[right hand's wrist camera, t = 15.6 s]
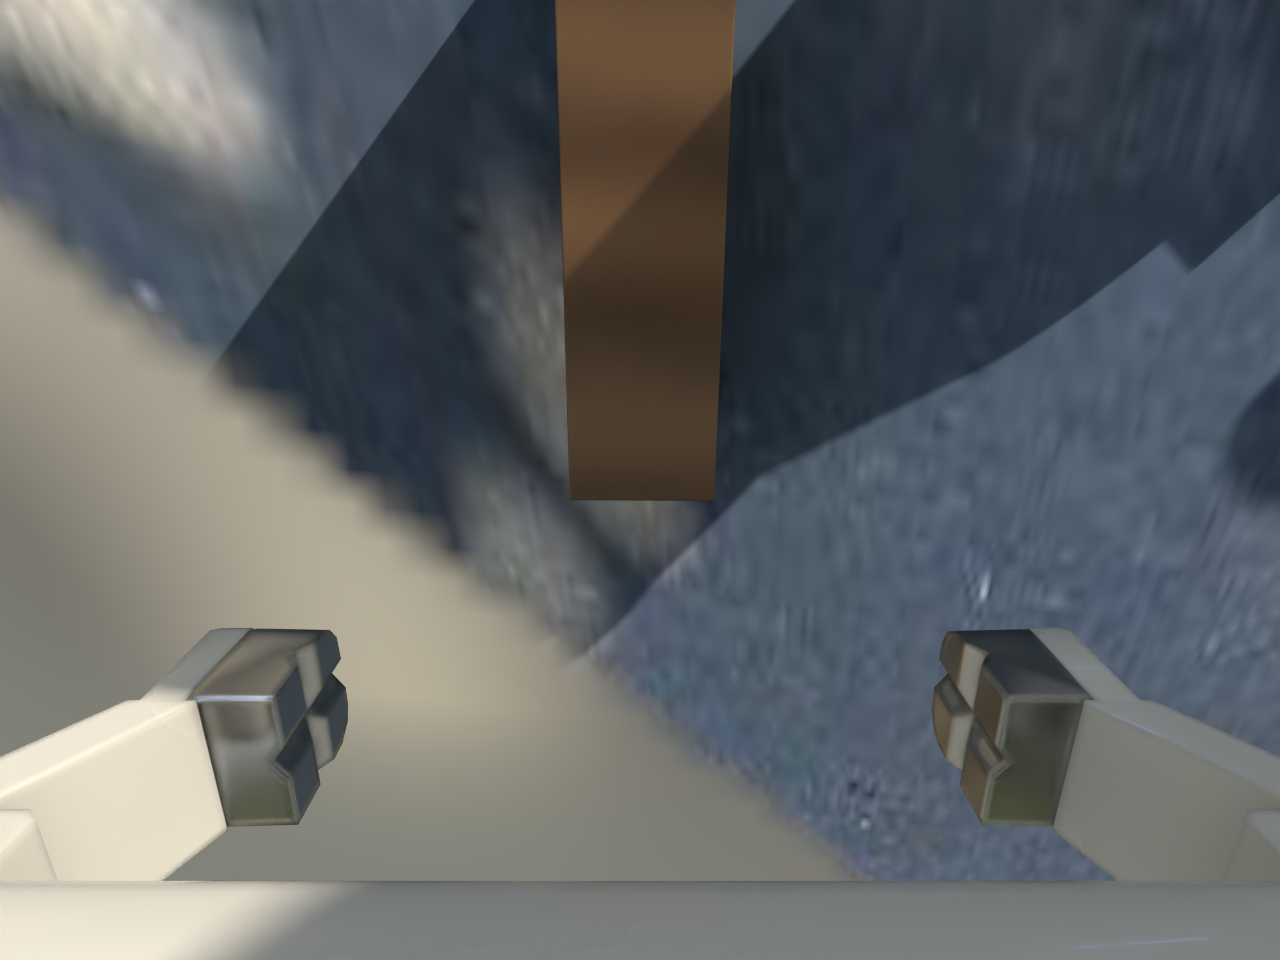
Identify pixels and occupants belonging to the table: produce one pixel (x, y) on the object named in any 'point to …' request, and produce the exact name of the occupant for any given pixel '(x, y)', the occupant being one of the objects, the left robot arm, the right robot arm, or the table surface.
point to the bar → (643, 240)
